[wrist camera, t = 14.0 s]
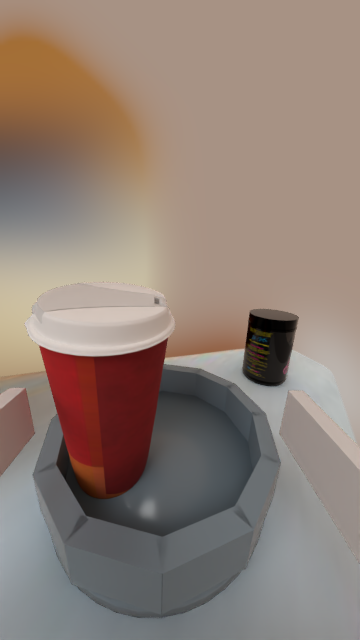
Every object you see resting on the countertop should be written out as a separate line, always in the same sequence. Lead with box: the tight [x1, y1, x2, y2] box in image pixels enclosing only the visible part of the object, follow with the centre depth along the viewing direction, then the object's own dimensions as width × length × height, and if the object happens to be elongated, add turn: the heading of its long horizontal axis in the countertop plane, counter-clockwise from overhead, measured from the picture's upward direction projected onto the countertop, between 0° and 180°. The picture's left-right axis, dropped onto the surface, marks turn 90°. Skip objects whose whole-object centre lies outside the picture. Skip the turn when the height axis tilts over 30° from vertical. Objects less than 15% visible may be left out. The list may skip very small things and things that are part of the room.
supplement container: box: [242, 309, 299, 386], centre depth 32 cm, size 7×7×10 cm
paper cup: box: [25, 282, 175, 499], centre depth 14 cm, size 8×8×14 cm
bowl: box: [33, 364, 281, 618], centre depth 18 cm, size 18×18×4 cm
